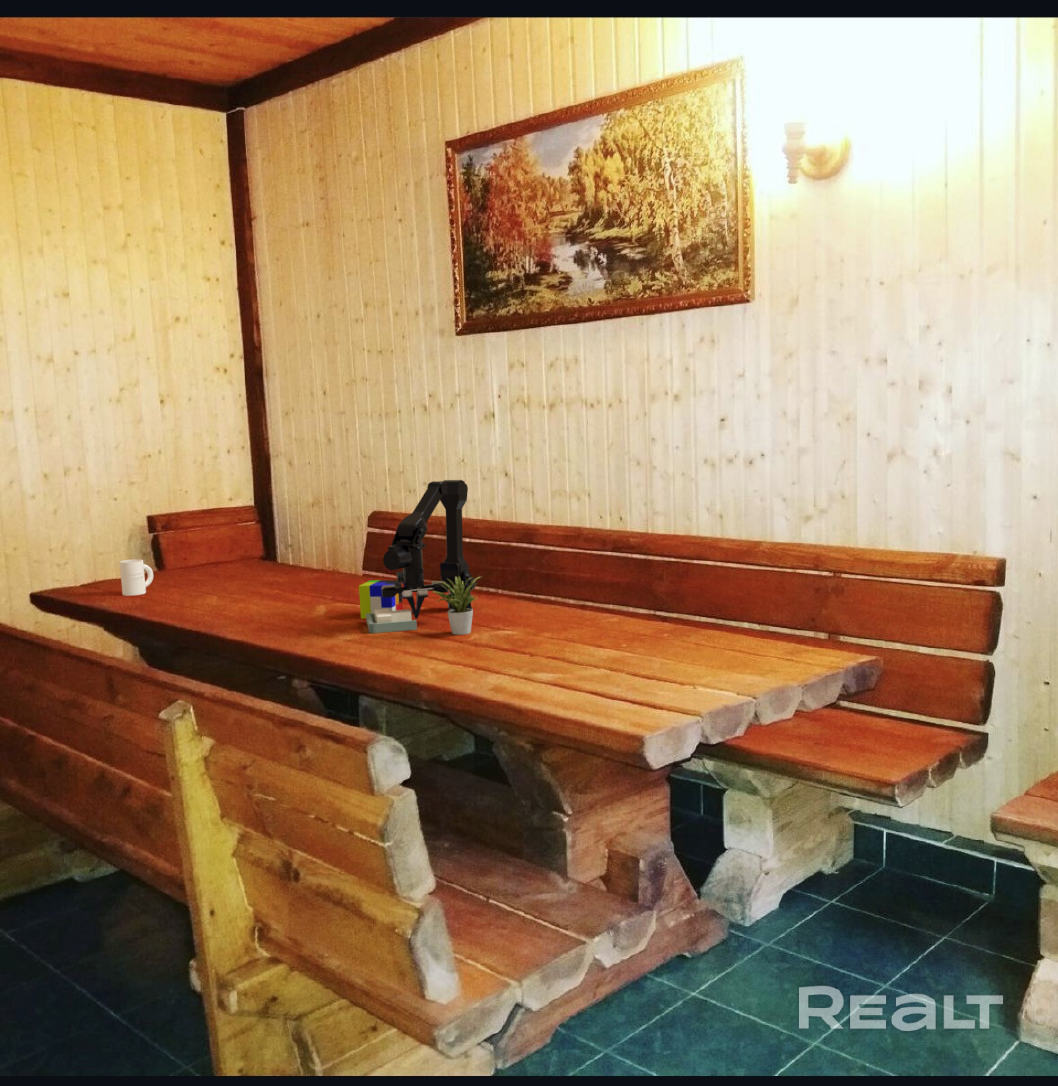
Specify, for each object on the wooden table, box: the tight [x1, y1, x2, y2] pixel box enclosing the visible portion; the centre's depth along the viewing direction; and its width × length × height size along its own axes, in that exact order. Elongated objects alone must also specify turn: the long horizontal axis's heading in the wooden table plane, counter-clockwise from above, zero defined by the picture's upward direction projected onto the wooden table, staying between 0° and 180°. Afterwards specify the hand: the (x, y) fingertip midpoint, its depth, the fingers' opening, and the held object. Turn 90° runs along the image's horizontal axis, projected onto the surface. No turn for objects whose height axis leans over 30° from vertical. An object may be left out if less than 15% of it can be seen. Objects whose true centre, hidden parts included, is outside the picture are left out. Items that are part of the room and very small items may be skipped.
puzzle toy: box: [358, 579, 404, 619], centre depth 337 cm, size 10×10×10 cm
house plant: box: [430, 576, 483, 636], centre depth 306 cm, size 14×14×16 cm
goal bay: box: [365, 609, 418, 634], centre depth 320 cm, size 13×17×2 cm
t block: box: [374, 608, 413, 623], centre depth 320 cm, size 10×12×4 cm
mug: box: [119, 558, 154, 597], centre depth 401 cm, size 8×12×12 cm
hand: (416, 618), depth 322 cm, fingers closed
